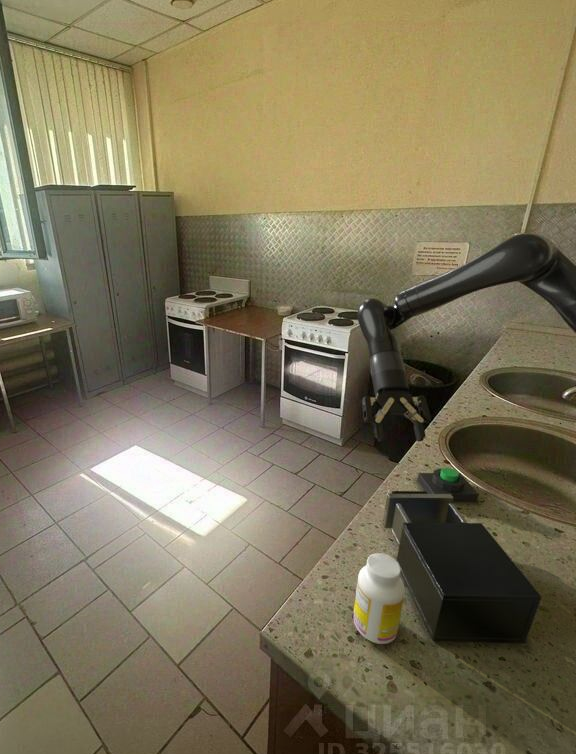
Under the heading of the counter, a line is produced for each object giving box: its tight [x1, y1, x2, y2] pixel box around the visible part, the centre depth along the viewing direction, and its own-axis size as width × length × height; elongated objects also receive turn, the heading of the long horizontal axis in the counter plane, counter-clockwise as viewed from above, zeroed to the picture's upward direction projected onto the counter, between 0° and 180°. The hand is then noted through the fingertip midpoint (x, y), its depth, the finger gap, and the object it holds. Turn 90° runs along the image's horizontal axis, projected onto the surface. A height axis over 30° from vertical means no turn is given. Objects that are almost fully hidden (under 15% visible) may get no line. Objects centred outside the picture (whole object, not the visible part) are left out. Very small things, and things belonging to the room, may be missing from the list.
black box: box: [396, 522, 542, 644], centre depth 66 cm, size 15×14×10 cm
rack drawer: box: [382, 490, 469, 547], centre depth 77 cm, size 18×13×8 cm
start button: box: [440, 467, 460, 482], centre depth 92 cm, size 4×4×2 cm
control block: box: [417, 468, 480, 503], centre depth 93 cm, size 10×8×4 cm
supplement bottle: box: [353, 552, 406, 645], centre depth 61 cm, size 7×7×13 cm
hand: (401, 440), depth 88 cm, fingers open, 8 cm apart
